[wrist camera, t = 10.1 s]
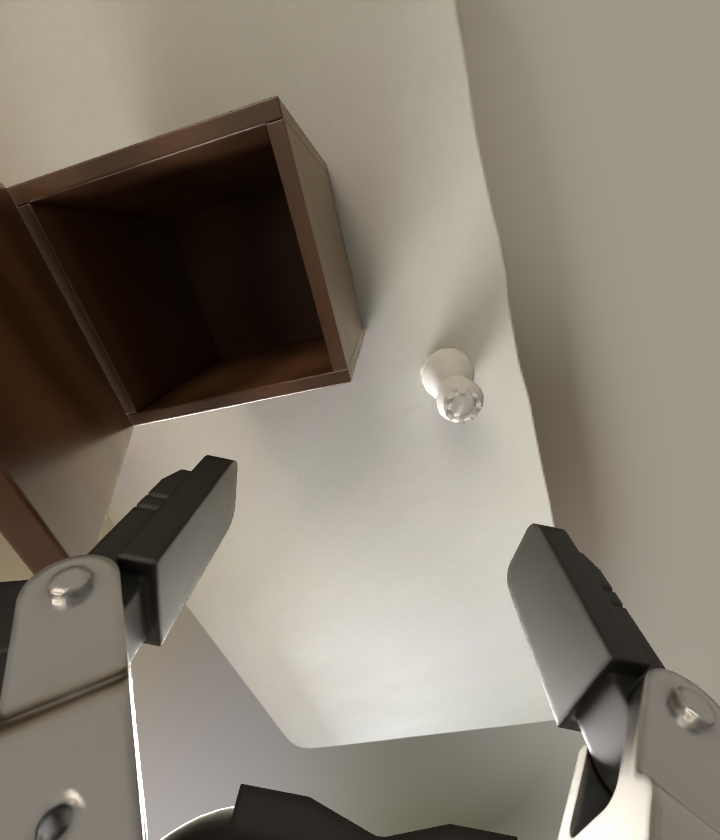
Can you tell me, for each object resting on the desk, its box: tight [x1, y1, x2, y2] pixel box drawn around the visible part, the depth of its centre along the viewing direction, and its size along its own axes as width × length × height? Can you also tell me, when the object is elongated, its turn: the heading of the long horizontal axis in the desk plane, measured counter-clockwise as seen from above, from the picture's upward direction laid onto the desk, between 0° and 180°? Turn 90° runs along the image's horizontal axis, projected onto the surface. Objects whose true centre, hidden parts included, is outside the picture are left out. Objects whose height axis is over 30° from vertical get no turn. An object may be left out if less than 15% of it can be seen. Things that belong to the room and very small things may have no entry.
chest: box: [7, 96, 365, 426], centre depth 24 cm, size 14×13×13 cm
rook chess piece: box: [421, 348, 484, 423], centre depth 29 cm, size 4×4×8 cm
